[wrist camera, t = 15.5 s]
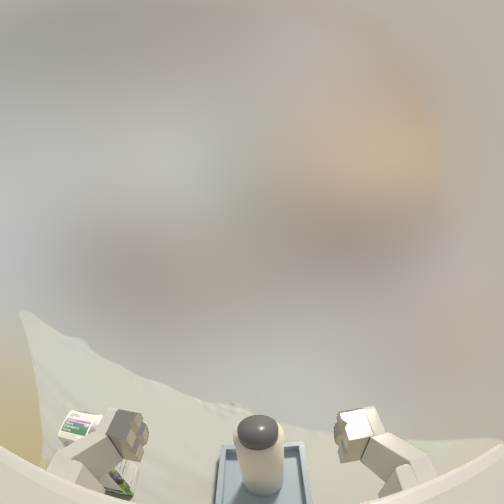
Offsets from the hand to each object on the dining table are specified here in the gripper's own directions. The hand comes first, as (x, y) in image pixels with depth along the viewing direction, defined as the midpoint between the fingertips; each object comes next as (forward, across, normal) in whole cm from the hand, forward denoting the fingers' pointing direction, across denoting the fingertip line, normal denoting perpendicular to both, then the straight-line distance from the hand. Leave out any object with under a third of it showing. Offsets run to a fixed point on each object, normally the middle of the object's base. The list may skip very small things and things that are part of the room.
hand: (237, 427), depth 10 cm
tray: (+12, -1, +31) cm, 33 cm away
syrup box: (+10, +21, +32) cm, 39 cm away
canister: (+12, -1, +30) cm, 32 cm away
